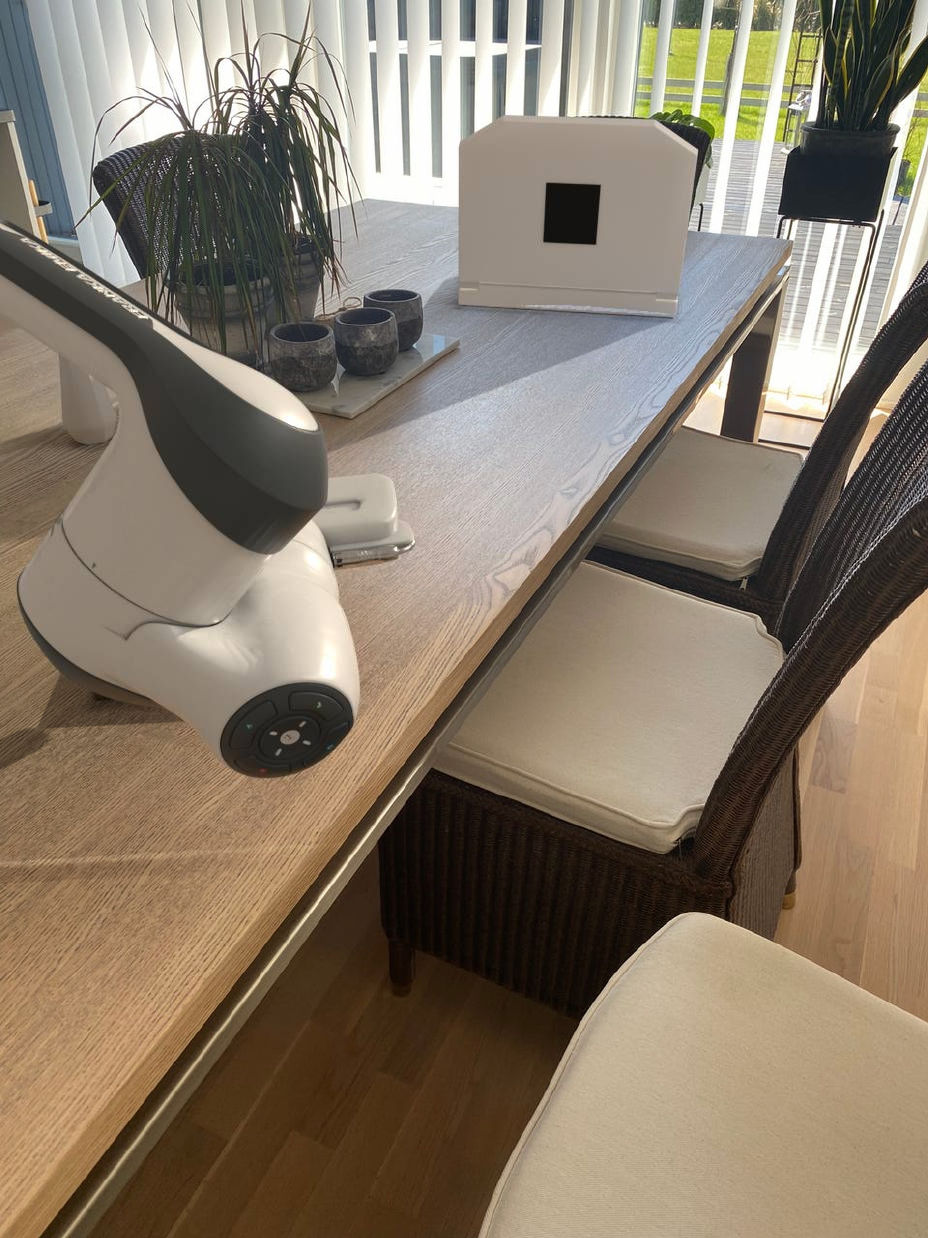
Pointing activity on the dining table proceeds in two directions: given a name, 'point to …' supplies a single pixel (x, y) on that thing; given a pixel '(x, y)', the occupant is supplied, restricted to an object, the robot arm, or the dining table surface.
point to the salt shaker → (85, 405)
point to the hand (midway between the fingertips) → (247, 477)
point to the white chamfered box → (574, 214)
